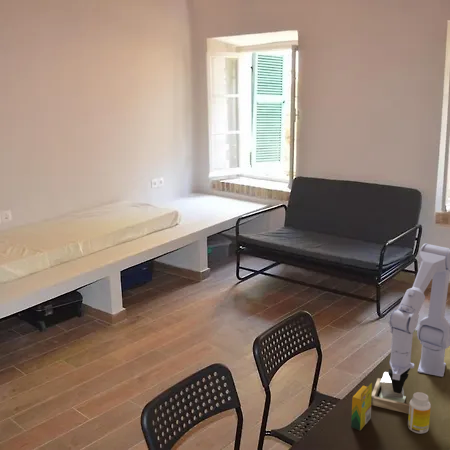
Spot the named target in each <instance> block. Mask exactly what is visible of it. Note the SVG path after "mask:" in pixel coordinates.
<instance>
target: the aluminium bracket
mask: <svg viewBox="0 0 450 450" xmlns="http://www.w3.org/2000/svg"><path fill="white" fill-rule="evenodd" d="M380 388H381V390H382V397H390V398H403V396H405V392H404V387H403V388H402V392H401V394H400V393H395V392H394V391H393V386H392V381H391V378H390V376H389V374H388V371H384V372H383V374H382V378H381V386H380Z"/></svg>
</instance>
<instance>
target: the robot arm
mask: <svg viewBox="0 0 450 450" xmlns="http://www.w3.org/2000/svg"><path fill="white" fill-rule="evenodd" d="M418 262H419V268H418V271H417V273H416V275H415V279H414V281H413V284H412V287H410V288H408V289H406V291H405V293H404V295H403V297H402V299H401V301H400V304H399V306H398V307H397V309H394V310H393V311H391V315H390V317H389V321H388V323H389V324H388V325H389V328H390V330H389V331H390V333H391V346H390V358H389V366H390V368H389V369H388V371H387V372H388V374H389V376H390V378H391V381H392V386H393V391H394V392H395V393H400V394H401V392H402V388H403V389H404V385H405V382H406V380H407V379H408V378H409V375H410V374H409V371H410V370H411V369H414V368H415V363H414V362H411V360H412V346H413V333H414V332H415V331H416V328H417V326H418V328H417V331H416V336H417V339H418V341H419V342H420V343H419V344H420V345H421V355H420V360H419V365H418V368H417V372H418V373H421V374H425V375H426V374H427V375H431V376H435V377H440V378H443V377H444V376H445V375H444V374H445V370H446V364H447V363H446V362H445V356H446V350H447V349H448V348H449V347H450V322H449V320H447V319H446V318H445V316H446V315H445V314H446V307H447V298H448V290H449V283H450V247H445V246H439V245H436V244H430V243H427V242H425V243H423V245H421V247H420V248H419V252H418ZM431 281H432V282H431ZM430 282H431V290H430V297H429V298H430V299H429V306H428V316H424V317H423V318H421V320H420V321H419V318H420V314H419V313H420V311H421V308H423V307H422V306H423V304H424V302H425V300H426V296H425V292H426V290H427V288H428V286H429V285H430ZM418 321H419V325H418Z"/></svg>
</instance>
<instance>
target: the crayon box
mask: <svg viewBox="0 0 450 450" xmlns="http://www.w3.org/2000/svg"><path fill="white" fill-rule="evenodd" d="M372 392H373V382H371V383H369V385H368V386H367V385H366V386H365V385H364V384H363V385H362V386H361V387H359V389H358V390H357V391H356V393H355V394H353V396H352V399H351V400H352V401H351V418H350V419H351V421H350V422H351V423H350V424H351V426H350V427H351V428H353V429H355V430H357V431H362V429H363V428H364V427H365V425H367V424H368V422H369V421H370V420H371V417H372V415H371V414H372V405H371V398H372Z"/></svg>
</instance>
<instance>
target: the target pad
mask: <svg viewBox="0 0 450 450" xmlns="http://www.w3.org/2000/svg"><path fill="white" fill-rule="evenodd" d="M378 397H379V398H384V399H388V400H393V401H397V402H401V403H406V402H405V401H406V398H407V396H406V395H404V396H403V398H390V397H382V389H381V390H380V393H379V396H378Z"/></svg>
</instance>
